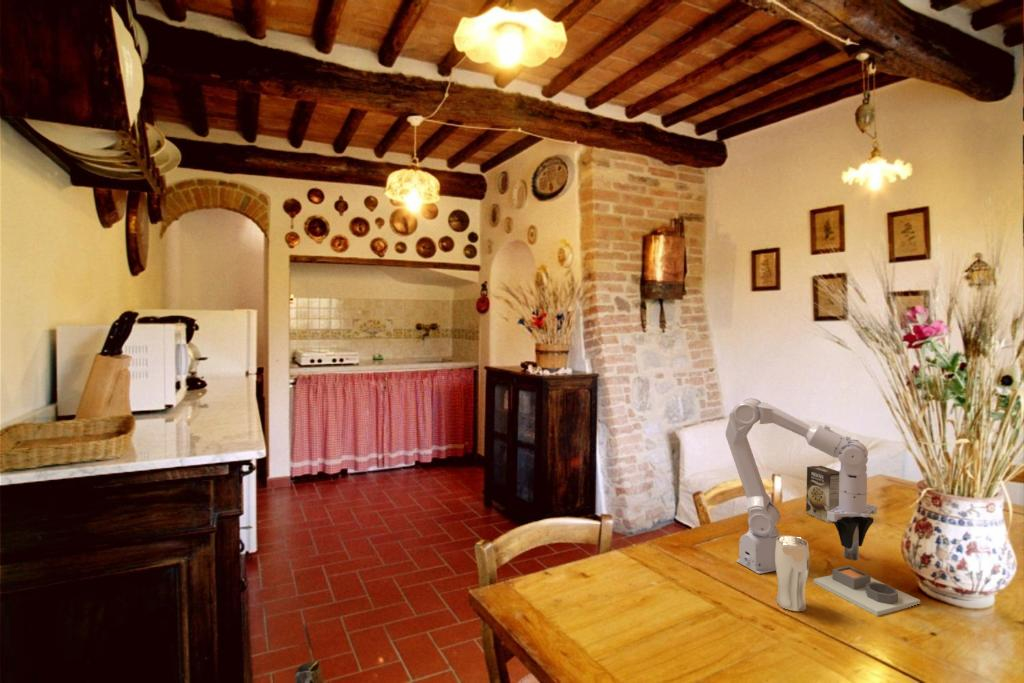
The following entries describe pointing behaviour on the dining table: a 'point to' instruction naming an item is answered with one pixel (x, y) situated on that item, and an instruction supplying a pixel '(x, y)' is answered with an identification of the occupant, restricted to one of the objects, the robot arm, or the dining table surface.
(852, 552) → the metal cylinder
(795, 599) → the beer glass
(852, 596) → the panel
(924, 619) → the dining table surface
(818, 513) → the coffee box
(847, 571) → the button
